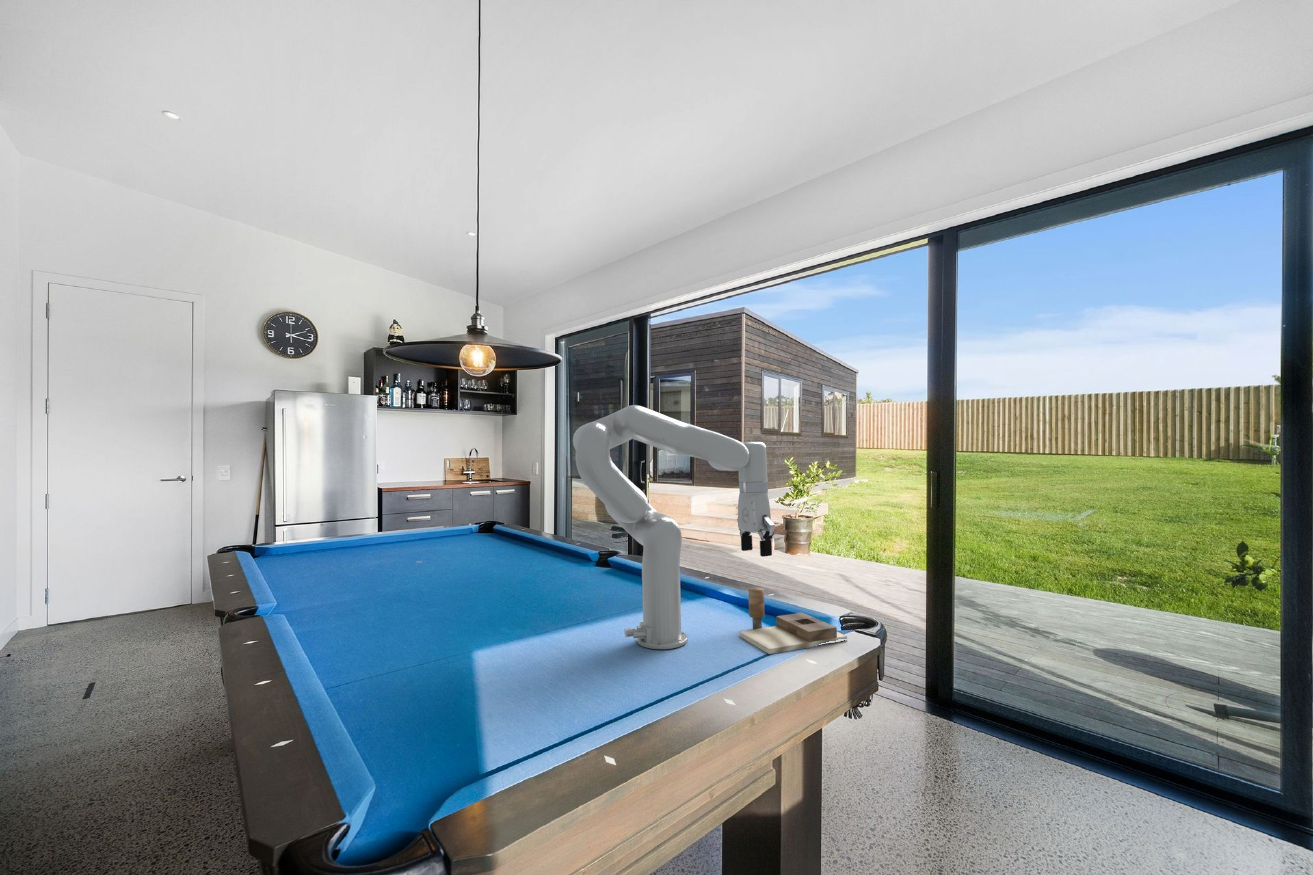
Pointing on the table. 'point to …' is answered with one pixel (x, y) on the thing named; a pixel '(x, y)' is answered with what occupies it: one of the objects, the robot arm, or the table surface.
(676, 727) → the table surface
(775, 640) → the subfloor panel
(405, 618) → the table surface
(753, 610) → the tan rounded cylinder
